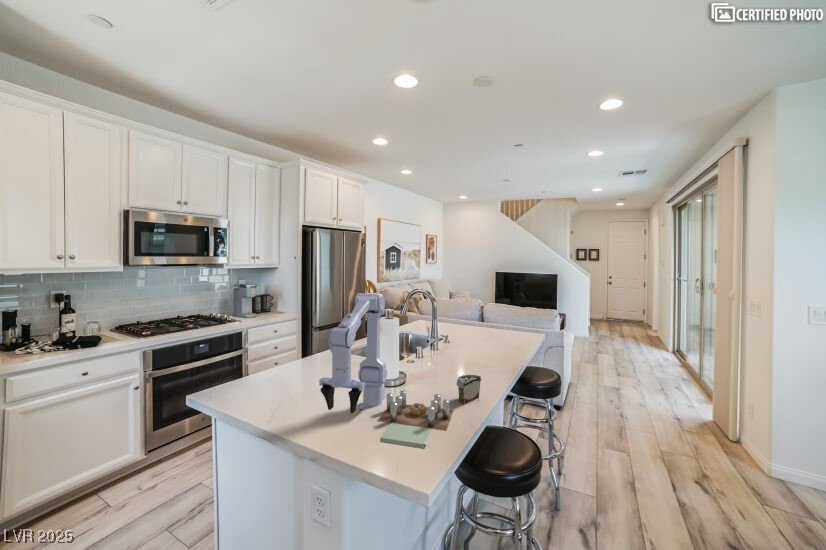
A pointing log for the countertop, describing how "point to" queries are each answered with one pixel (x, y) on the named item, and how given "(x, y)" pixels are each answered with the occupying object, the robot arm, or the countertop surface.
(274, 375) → the countertop surface
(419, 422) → the board
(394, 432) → the pad
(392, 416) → the spacers
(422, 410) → the nut
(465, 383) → the food container
